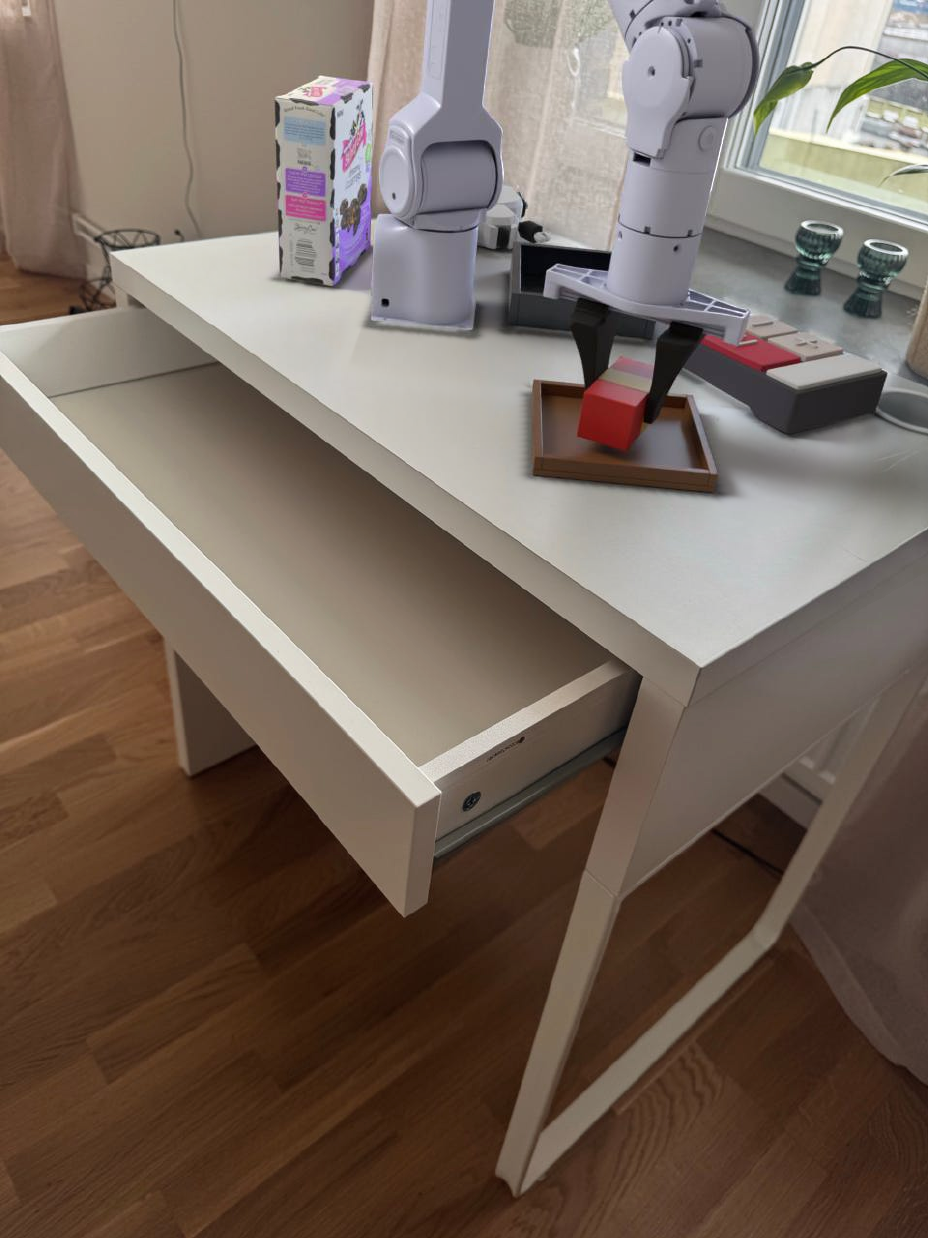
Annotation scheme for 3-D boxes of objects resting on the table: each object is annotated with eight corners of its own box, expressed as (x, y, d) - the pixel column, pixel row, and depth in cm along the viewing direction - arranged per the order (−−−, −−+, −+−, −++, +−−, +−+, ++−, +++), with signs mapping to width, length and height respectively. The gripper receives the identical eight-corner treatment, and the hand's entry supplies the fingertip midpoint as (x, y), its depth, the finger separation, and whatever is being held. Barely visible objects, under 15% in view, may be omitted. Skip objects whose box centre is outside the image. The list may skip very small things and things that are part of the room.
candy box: (334, 288, 96) (334, 103, 85) (277, 279, 96) (270, 95, 86) (372, 247, 106) (376, 79, 96) (321, 239, 107) (319, 71, 97)
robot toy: (553, 265, 109) (513, 215, 120) (560, 225, 106) (518, 177, 117) (448, 266, 106) (417, 214, 116) (452, 224, 103) (419, 175, 113)
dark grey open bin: (507, 330, 91) (511, 292, 88) (509, 275, 103) (513, 240, 101) (650, 345, 91) (658, 307, 89) (636, 288, 103) (642, 254, 101)
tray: (532, 474, 70) (534, 456, 69) (531, 395, 80) (533, 378, 79) (713, 492, 70) (718, 474, 69) (689, 411, 80) (693, 394, 79)
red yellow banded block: (575, 436, 72) (583, 391, 69) (612, 398, 77) (620, 355, 75) (627, 452, 70) (636, 406, 68) (660, 412, 76) (669, 368, 74)
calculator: (762, 308, 90) (893, 363, 80) (751, 353, 93) (877, 412, 83) (673, 323, 85) (801, 384, 75) (665, 370, 88) (787, 435, 78)
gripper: (779, 233, 65) (728, 416, 74) (581, 191, 70) (554, 367, 78) (755, 260, 60) (703, 453, 69) (543, 212, 65) (519, 398, 73)
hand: (622, 410), depth 73 cm, fingers closed on red yellow banded block, 4 cm apart
